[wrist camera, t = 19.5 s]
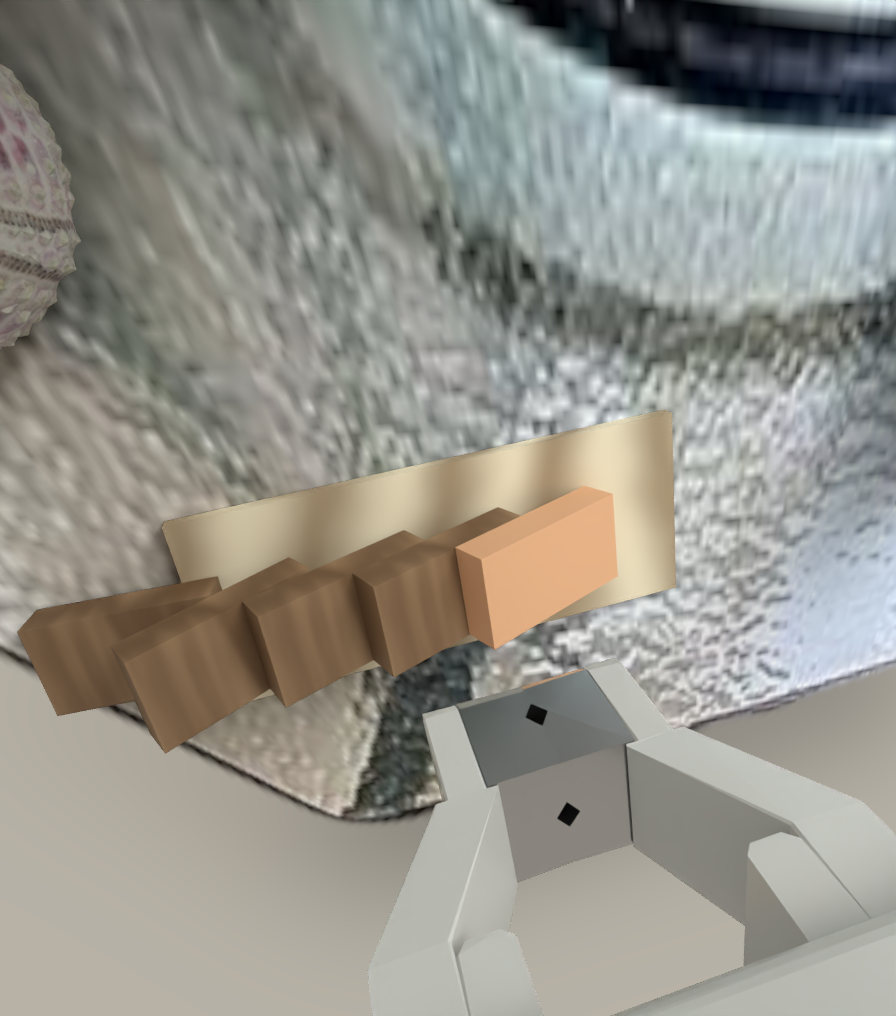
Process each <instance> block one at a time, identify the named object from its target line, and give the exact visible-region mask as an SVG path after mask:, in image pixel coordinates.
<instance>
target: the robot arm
mask: <svg viewBox="0 0 896 1016" xmlns="http://www.w3.org/2000/svg"><path fill="white" fill-rule="evenodd" d="M422 715H423V722H424V726H425V731H426V735H427V739H428V743H429V747H430V751H431V756H432V760H433V764H434V768H435V772H436V776H437V780H438V785H439V789H440V793H441V797H442V801H443V802H442V803H439V804H436V805H435V807H434V809H433V812H432V814H431V817H430V819H429V821H428V824H427V827H426V829H425V831H424V834H423V836H422V839H421V841H420V844H419V846H418V849H417V851H416V853H415V856H414V858H413V861H412V863H411V866H410V868H409V870H408V873H407V875H406V878H405V880H404V883H403V885H402V888H401V890H400V892H399V895H398V897H397V900H396V902H395V905H394V907H393V909H392V912H391V914H390V917H389V919H388V922H387V924H386V926H385V929H384V931H383V934H382V936H381V939H380V941H379V944H378V946H377V949H376V951H375V953H374V956H373V958H372V961H371V963H370V966H369V968H368V980H369V989H370V999H371V1009H372V1016H544V1015H543V1013H542V1010H541V1007H540V1004H539V1001H538V998H537V995H536V992H535V989H534V986H533V983H532V980H531V977H530V974H529V971H528V968H527V965H526V962H525V960H524V956H523V953H522V951H521V947H520V945H519V942H518V939H517V936H516V935H514V934H512V933H509V931H510V926H511V921H512V916H513V910H514V905H515V900H516V895H517V890H518V884H517V883H518V882H520V881H523V880H526V879H529V878H531V877H534V876H537V875H539V874H542V873H545V872H547V871H550V870H553V869H556V868H558V867H561V866H563V865H566V864H569V863H572V862H574V861H578V860H581V859H585V858H588V857H591V856H595V855H598V854H601V853H604V852H608V851H611V850H614V849H618V848H621V847H624V846H627V845H630V844H634V847H635V848H636V849H638V850H639V851H640V852H642V853H643V854H644V855H646V856H647V857H649V858H650V859H652V860H653V861H654V862H656V863H657V864H659V865H660V866H661V867H663V868H664V869H666V870H667V871H668V872H670V873H672V874H673V875H674V876H675V877H677V878H678V879H680V880H681V881H682V882H684V883H685V884H687V885H688V886H690V887H691V888H692V889H694V890H695V891H696V892H698V893H699V894H701V895H702V896H704V897H705V898H706V899H708V900H709V901H711V902H712V903H713V904H715V905H716V906H718V907H719V908H720V909H722V910H723V911H725V912H726V913H728V914H729V915H730V916H732V917H733V918H735V919H736V920H737V921H739V922H740V923H742V924H743V925H744V926H745V942H744V966H743V967H741V968H738V969H735V970H732V971H730V972H727V973H725V974H722V975H719V976H716V977H713V978H711V979H708V980H706V981H703V982H700V983H697V984H695V985H692V986H689V987H687V988H684V989H681V990H679V991H676V992H673V993H671V994H668V995H665V996H663V997H660V998H657V999H654V1000H652V1001H649V1002H647V1003H644V1004H641V1005H638V1006H636V1007H633V1008H630V1009H628V1010H625V1011H623V1012H620V1013H617V1014H614V1015H612V1016H896V834H894V832H893V831H892V830H891V829H890V828H889V827H888V826H887V825H886V824H885V823H884V822H883V821H881V819H880V818H879V817H878V816H877V815H876V814H875V813H874V812H872V811H871V809H869V808H868V807H867V805H866V804H864V802H862V801H860V800H858V799H855V798H853V797H850V796H848V795H845V794H843V793H841V792H839V791H836V790H833V789H831V788H829V787H826V786H824V785H822V784H819V783H817V782H814V781H812V780H810V779H807V778H805V777H803V776H800V775H798V774H795V773H793V772H790V771H788V770H786V769H783V768H781V767H778V766H776V765H774V764H771V763H769V762H767V761H764V760H762V759H760V758H757V757H754V756H752V755H750V754H748V753H745V752H743V751H740V750H738V749H736V748H733V747H731V746H728V745H726V744H723V743H721V742H719V741H716V740H714V739H712V738H709V737H707V736H704V735H702V734H700V733H697V732H695V731H693V730H690V729H688V728H685V727H681V728H677V729H673V728H672V727H671V725H670V724H669V723H668V722H667V720H666V719H665V718H664V717H663V715H662V714H661V713H660V711H659V710H658V709H657V708H656V706H655V705H654V704H653V703H652V701H651V700H650V699H649V697H648V696H647V695H646V694H645V692H644V691H643V690H642V689H641V687H640V686H639V685H638V683H637V682H636V681H635V680H634V678H633V677H632V676H631V675H630V673H629V672H628V671H627V669H626V668H625V667H624V666H623V664H622V663H621V662H620V661H619V660H617V659H615V658H612V659H608V660H605V661H602V662H599V663H596V664H593V665H589V666H586V667H583V669H579V670H575V671H572V672H569V673H565V674H562V675H559V676H556V677H552V678H549V679H546V680H542V681H539V682H536V683H532V684H529V685H526V686H523V687H519V688H515V689H512V690H508V691H504V692H501V693H497V694H493V695H490V696H486V697H482V698H478V699H475V700H471V701H467V702H464V703H460V704H456V706H451V707H448V708H444V709H440V710H436V711H433V712H429V713H425V714H422Z"/></svg>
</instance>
